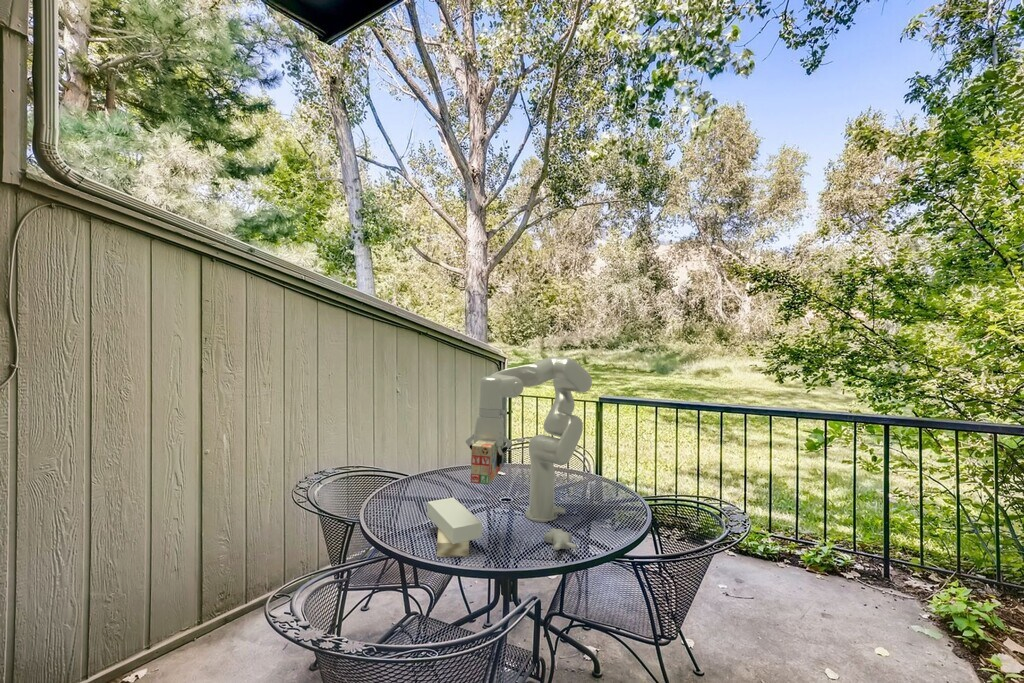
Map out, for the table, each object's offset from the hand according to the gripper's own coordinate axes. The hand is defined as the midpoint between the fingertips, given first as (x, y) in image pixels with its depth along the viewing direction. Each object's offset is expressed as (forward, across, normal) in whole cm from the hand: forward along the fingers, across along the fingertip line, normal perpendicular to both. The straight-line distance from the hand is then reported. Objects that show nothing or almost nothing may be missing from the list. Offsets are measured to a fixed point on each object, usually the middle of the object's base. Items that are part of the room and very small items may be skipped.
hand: (487, 464), depth 154 cm
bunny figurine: (+26, -26, +2) cm, 37 cm away
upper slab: (+22, +11, +1) cm, 24 cm away
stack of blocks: (+4, 0, -1) cm, 4 cm away
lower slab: (+27, +11, +1) cm, 29 cm away
